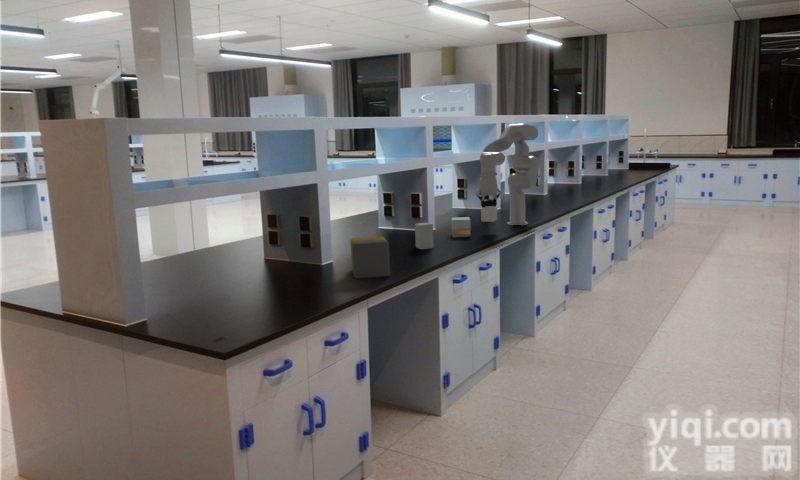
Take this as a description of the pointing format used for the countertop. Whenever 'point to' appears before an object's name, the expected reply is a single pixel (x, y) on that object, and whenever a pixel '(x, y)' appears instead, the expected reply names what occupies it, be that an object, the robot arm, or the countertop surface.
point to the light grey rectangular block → (489, 212)
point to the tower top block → (461, 223)
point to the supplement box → (424, 235)
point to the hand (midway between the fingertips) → (488, 206)
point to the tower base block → (461, 232)
